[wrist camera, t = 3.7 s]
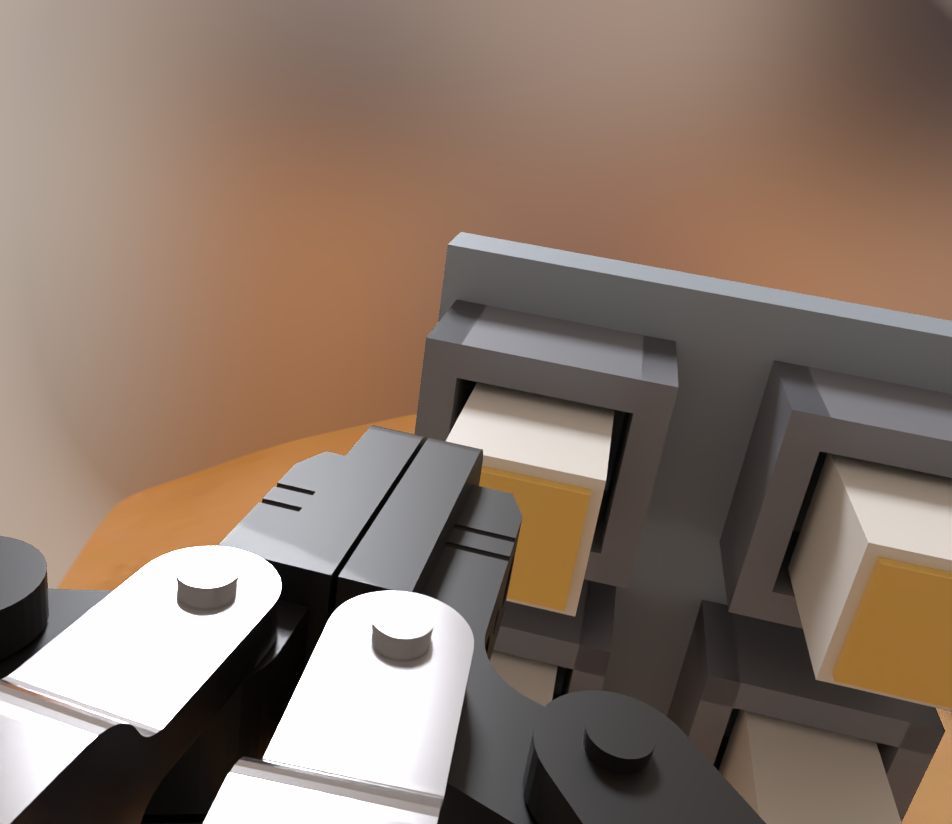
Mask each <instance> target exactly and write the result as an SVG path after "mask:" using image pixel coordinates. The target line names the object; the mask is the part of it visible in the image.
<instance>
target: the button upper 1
mask: <svg viewBox="0 0 952 824" xmlns="http://www.w3.org/2000/svg"><path fill="white" fill-rule="evenodd" d="M613 418H614V410H613V409H609V408H604V407H599V406H594V405H589V404H584V403H579V402H574V401H569V400H564V399H559V398H554V397H549V396H544V395H539V394H534V393H529V392H524V391H520V390H515V389H510V388H505V387H500V386H495V385H490V384H485V383H480V382H477V384H476V385H475V387H474V389H473V391H472V393H471V395H470V397H469V398H468V400H467V402H466V404H465V406H464V408H463V410H462V412H461V413H460V415H459V417H458V419H457V421H456V423H455V425H454V426H453V428H452V430H451V432H450V434H449V436H448V438H447V439H446V441H447V442H451V443H456V444H460V445H465V446H469V447H474V448H478V449H483V463H482V470H481V476H480V482H479V486H481V487H486V488H490V489H494V490H499V491H503V492H508V493H512V494H513V496H514V498H515V500H516V502H517V505H518V507H519V509H520V511H521V514H522V516H523V517H522V522H521V527H520V532H519V537H518V542H517V548H516V553H515V558H514V563H513V568H512V573H511V579H510V584H509V589H508V594H507V599H506V601H510V602H514V603H518V604H523V605H527V606H531V607H536V608H540V609H544V610H549V611H553V612H557V613H562V614H566V615H570V616H574V617H575V615H576V611H577V607H578V602H579V598H580V593H581V589H582V585H583V580H584V576H585V571H586V567H587V563H588V558H589V554H590V549H591V545H592V541H593V536H594V532H595V527H596V523H597V519H598V514H599V510H600V506H601V501H602V497H603V492H604V488H605V484H606V478H607V469H608V461H609V452H610V444H611V435H612V427H613Z"/></svg>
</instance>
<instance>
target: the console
mask: <svg viewBox="0 0 952 824" xmlns="http://www.w3.org/2000/svg"><path fill="white" fill-rule="evenodd" d="M477 382H480V383H485V384H490V385H495V386H500V387H505V388H510V389H515V390H520V391H524V392H529V393H534V394H539V395H544V396H549V397H554V398H559V399H564V400H569V401H574V402H579V403H584V404H589V405H594V406H599V407H604V408H609V409H613V410H614V418H613V427H612V435H611V444H610V452H609V461H608V469H607V478H606V484H605V488H604V492H603V497H602V501H601V506H600V510H599V514H598V519H597V523H596V527H595V532H594V536H593V541H592V545H591V549H590V554H589V558H588V563H587V567H586V571H585V576H584V580H583V585H582V589H581V593H580V598H579V602H578V607H577V611H576V615H575V617H574V616H570V615H566V614H562V613H557V612H553V611H549V610H544V609H540V608H536V607H531V606H527V605H523V604H518V603H514V602H510V601H506V604H505V610H504V615H503V618H502V621H501V625H500V628H499V632H498V635H497V638H496V641H495V645H494V649H493V650H494V651H498V652H502V653H506V654H511V655H515V656H519V657H523V658H527V659H531V660H536V661H540V662H544V663H548V664H552V665H556V666H558V667H557V673H556V679H555V685H554V692H553V698H552V701H553V700H554V699H556V698H558V697H560V696H562V695H565V694H568V693H571V692H577V691H584V690H599V691H609V692H614V693H618V694H623V695H626V696H629V697H632V698H635V699H637V700H639V701H641V702H644V703H646V704H648V705H650V706H651V707H653V708H655V709H656V710H658V711H660V712H661V713H663V714H664V715H665V716H666V717H668V718H669V719H670V720H672V721H673V722H674V723H675V724H676V725H677V726H678V727H679V728H680V729H681V730H682V731H683V732H684V733H685V734H686V736H687V737H688V738H689V739H690V740H691V741H692V742H693V743H694V744H695V746H696V747H697V748H698V749H699V750H700V751H701V752H702V753H703V754H704V755H705V757H706V758H707V759H708V760H709V761H710V762H711V763H712V764H713V765H714V767H715V768H716V769H717V770H719V767H720V764H721V761H722V758H723V755H724V753H725V750H726V747H727V744H728V741H729V738H730V735H731V732H732V729H733V726H734V723H735V721H736V718H737V715H738V712H739V709H740V710H744V711H748V712H752V713H757V714H761V715H765V716H769V717H773V718H777V719H782V720H786V721H790V722H794V723H798V724H802V725H807V726H811V727H815V728H819V729H823V730H827V731H832V732H836V733H840V734H844V735H848V736H852V737H857V738H861V739H865V740H869V741H873V742H876V743H877V747H878V750H879V753H880V756H881V759H882V763H883V766H884V769H885V772H886V775H887V778H888V782H889V785H890V788H891V791H892V794H893V797H894V801H895V804H896V807H897V810H898V813H899V817H900V820H901V822H902V820H903V818H904V816H905V814H906V812H907V810H908V808H909V805H910V803H911V801H912V799H913V797H914V795H915V793H916V791H917V789H918V787H919V785H920V782H921V780H922V778H923V776H924V774H925V772H926V770H927V768H928V766H929V764H930V762H931V760H932V757H933V755H934V753H935V751H936V749H937V747H938V745H939V743H940V741H941V739H942V737H943V734H944V732H945V729H944V727H943V725H942V722H941V720H940V718H939V715H938V713H937V710H936V708H935V707H931V706H926V705H922V704H918V703H913V702H909V701H905V700H901V699H896V698H892V697H888V696H883V695H879V694H875V693H871V692H866V691H862V690H858V689H853V688H849V687H845V686H841V685H836V684H832V683H828V682H823V681H819V680H816V679H815V675H814V671H813V667H812V663H811V659H810V655H809V651H808V647H807V643H806V639H805V635H804V631H803V627H802V623H801V619H800V615H799V611H798V607H797V603H796V599H795V595H794V591H793V587H792V583H791V579H790V575H789V571H788V566H789V563H790V560H791V557H792V555H793V552H794V549H795V546H796V543H797V540H798V537H799V534H800V531H801V528H802V525H803V523H804V520H805V517H806V514H807V511H808V508H809V505H810V502H811V499H812V496H813V493H814V491H815V488H816V485H817V482H818V479H819V476H820V473H821V470H822V467H823V464H824V461H825V458H826V456H827V453H831V454H836V455H841V456H846V457H851V458H856V459H861V460H866V461H870V462H875V463H880V464H885V465H890V466H895V467H900V468H905V469H910V470H915V471H920V472H925V473H930V474H935V475H940V476H945V477H950V478H952V321H949V320H943V319H938V318H932V317H927V316H921V315H916V314H910V313H904V312H898V311H894V310H888V309H882V308H877V307H872V306H866V305H861V304H855V303H850V302H844V301H839V300H833V299H827V298H822V297H816V296H811V295H805V294H800V293H794V292H788V291H783V290H778V289H772V288H766V287H761V286H756V285H750V284H744V283H739V282H734V281H728V280H723V279H717V278H712V277H706V276H701V275H695V274H690V273H684V272H678V271H673V270H668V269H662V268H657V267H651V266H646V265H640V264H635V263H629V262H623V261H618V260H612V259H607V258H602V257H596V256H590V255H585V254H579V253H573V252H569V251H563V250H557V249H552V248H546V247H541V246H535V245H530V244H524V243H519V242H513V241H507V240H502V239H497V238H491V237H486V236H480V235H475V234H469V233H464V232H461V233H460V234H459V235H457V236H456V237H455V238H454V239H453V240H452V241H451V242H450V243H449V244H448V248H447V256H446V264H445V272H444V280H443V288H442V296H441V304H440V313H439V320H438V323H437V325H436V326H435V327H434V328H433V330H432V331H431V332H430V334H429V335H428V336H427V337H426V344H425V353H424V361H423V369H422V377H421V386H420V395H419V402H418V411H417V419H416V427H415V435H419V436H423V437H426V438H427V439H428V438H433V439H437V440H442V441H446V439H447V438H448V436H449V434H450V432H451V430H452V428H453V426H454V425H455V423H456V421H457V419H458V417H459V415H460V413H461V412H462V410H463V408H464V406H465V404H466V402H467V400H468V398H469V397H470V395H471V393H472V391H473V389H474V387H475V385H476V384H477Z"/></svg>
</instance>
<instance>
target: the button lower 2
mask: <svg viewBox="0 0 952 824" xmlns="http://www.w3.org/2000/svg"><path fill="white" fill-rule="evenodd" d="M718 771H719V772H720V773H721V774H722V775H723V776H724V778H725V779H726V780H727V781H728V782H729V783H730V784H731V785H732V786H733V788H734V789H735V790H736V791H737V792H738V793H739V794H740V795H741V796H742V797H743V799H744V800H745V801H746V802H747V803H748V804H749V805H750V806H751V807H752V809H753V810H754V811H755V812H756V813H757V814H758V815H759V816H760V817H761V818H762V820H763V821H764V822H765V823H766V824H902V823H901V820H900V817H899V813H898V810H897V807H896V804H895V801H894V797H893V794H892V791H891V788H890V785H889V782H888V778H887V775H886V772H885V769H884V766H883V763H882V759H881V756H880V753H879V750H878V747H877V743H876V742H873V741H869V740H865V739H861V738H857V737H852V736H848V735H844V734H840V733H836V732H832V731H827V730H823V729H819V728H815V727H811V726H807V725H802V724H798V723H794V722H790V721H786V720H782V719H777V718H773V717H769V716H765V715H761V714H757V713H752V712H748V711H744V710H740V709H739V712H738V715H737V718H736V721H735V723H734V726H733V729H732V732H731V735H730V738H729V741H728V744H727V747H726V750H725V753H724V755H723V758H722V761H721V764H720V767H719V770H718Z"/></svg>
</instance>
